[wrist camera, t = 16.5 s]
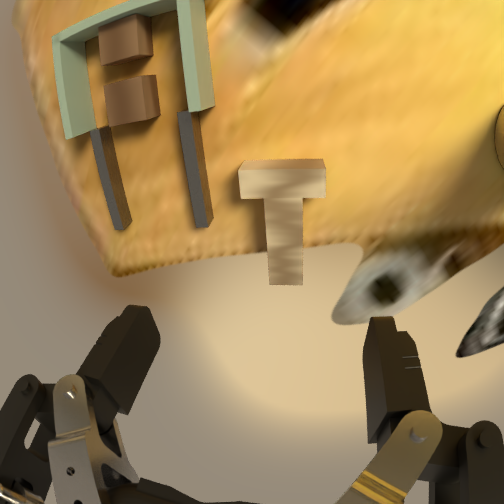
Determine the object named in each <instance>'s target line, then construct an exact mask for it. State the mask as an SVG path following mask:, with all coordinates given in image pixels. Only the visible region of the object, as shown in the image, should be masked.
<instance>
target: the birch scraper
mask: <svg viewBox="0 0 504 504" xmlns="http://www.w3.org/2000/svg"><path fill="white" fill-rule="evenodd" d="M238 176H239V185H240V194H241V199H259V198H264V210H265V224H266V238H267V252H268V267H269V281H270V285H302V281H303V198H326V168H325V164H324V161H323V159H270V160H245V161H244V162H243V164H242V165H241V167H240V168H239V170H238Z"/></svg>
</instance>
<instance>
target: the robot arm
mask: <svg viewBox="0 0 504 504" xmlns="http://www.w3.org/2000/svg"><path fill="white" fill-rule="evenodd" d="M495 145H496V152H497V155H498V159H499V161H500V163H501V166H502V167H503V169H504V106H503V108H502V110H501V112H500V114H499V116H498V120H497V123H496V129H495ZM159 347H160V334H159V331H158V329H157V326H156V324H155V321H154V319H153V316H152V314H151V311H150V309H149V308H148V307H147V306H137V305H128V306H127V307H126V308H125V310H124V311H123V313H122V314H121V316H120V317H118V316H117V317H116V318H115V319H114V320H112V321H111V322H110V323H109V324H108V325H107V326H106V328H105V329H104V331H103V332H102V334H101V337H99V338H98V340H97V341H96V345H94V346H93V348H92V349H91V351H90V352H89V354H88V356H87V357H86V359H85V361H84V362H83V364H82V365H81V367H80V369H79V370H78V372H77V373H76V374H70V375H66V376H64V377H62V378H61V379H60V380H59V381H58V382H57V383H56V384H42V383H41V382H40V381H39V380H38V379H37V377H35V376H34V375H32V374H28V375H25V376H23V377H21V378H20V379H19V380H18V381H17V382H16V384H15V385H14V387H13V389H12V391H11V393H10V394H9V396H8V398H7V399H6V401H5V403H4V405H3V407H2V408H1V410H0V504H44V501H45V499H46V496H47V492H48V490H49V487H50V485H51V482H52V480H53V486H54V491H55V496H56V501H57V504H257V503H249V502H242V501H237V502H219V503H218V502H216V503H203V502H199V501H197V500H195V499H193V498H191V497H189V496H187V495H185V494H183V493H181V492H179V491H178V490H176V489H174V488H172V487H170V486H167V485H163V484H160V483H156V482H153V481H150V480H147V479H144V478H140V480H139V478H138V476H137V474H136V472H135V470H134V469H133V467H132V466H131V464H130V463H129V461H128V458H127V455H126V452H125V449H124V446H123V442H122V439H121V435H120V431H119V428H118V423H117V421H116V419H115V416H116V414H117V412H119V413H123V414H125V415H128V414H129V412H130V410H131V407H132V405H133V403H134V401H135V398H136V396H137V394H138V392H139V390H140V388H141V385H142V383H143V381H144V379H145V377H146V375H147V372H148V370H149V368H150V366H151V364H152V362H153V360H154V358H155V356H156V354H157V352H158V350H159ZM363 370H364V380H365V381H364V382H365V395H366V409H367V410H366V411H367V431H368V444H371V443H377V454H376V455H375V457H374V458H373V459H372V461H371V462H370V463H369V464H368V466H367V467H366V468H365V469H364V471H363V472H362V473H361V474H360V475H359V477H358V478H357V479H356V480H355V481H354V482H353V483H352V485H351V486H350V487H349V488H348V489H347V491H346V492H344V494H343V495H342V496H341V497H340V498H339V499H338V500H337V501H336V502H335V503H334V504H404V499H405V497H406V495H407V493H408V492H409V491H410V489H411V488H412V486H413V485H414V483H415V482H416V480H422V481H429V504H504V444H503V439H502V434H501V431H500V429H499V428H498V427H497V426H496V424H494V423H493V422H490V421H479V422H477V423H475V424H474V425H473V426H472V427H471V428H464V427H457V426H451V425H446V424H444V423H442V422H441V421H440V420H439V419H438V418H437V417H436V416H435V415H434V414H432V411H431V409H430V406H429V401H428V395H427V390H426V386H425V381H424V377H423V372H422V369H421V364H420V360H419V358H418V352H417V348H416V344H415V342H414V340H413V339H412V338H411V336H410V335H409V334H408V333H407V331H399V332H397V329H396V325H395V321H394V318H393V317H392V316H385V317H371V318H370V322H369V326H368V330H367V335H366V339H365V343H364V347H363ZM34 418H35V419H36V420H37V421H38V422H40V423H41V424H40V426H39V428H38V430H37V432H36V434H35V437H34V439H33V441H32V443H31V445H30V447H29V449H26V448H25V445H24V439H25V437H26V435H27V433H28V431H29V428H30V427H31V424H32V422H33V420H34Z"/></svg>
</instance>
